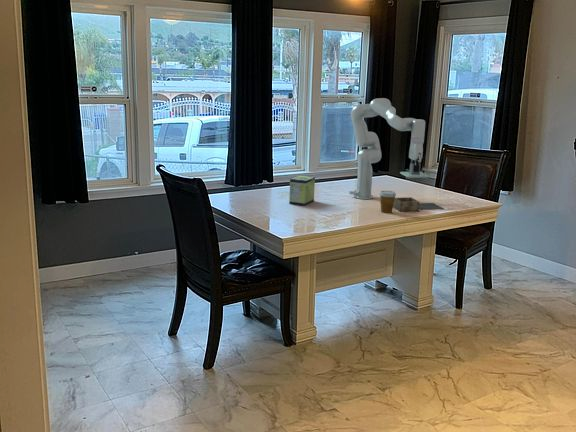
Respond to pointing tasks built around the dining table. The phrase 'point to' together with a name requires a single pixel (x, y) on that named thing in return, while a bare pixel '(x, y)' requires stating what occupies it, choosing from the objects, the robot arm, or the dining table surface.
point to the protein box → (302, 190)
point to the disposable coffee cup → (387, 201)
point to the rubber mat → (429, 206)
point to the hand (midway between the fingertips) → (414, 170)
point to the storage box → (406, 204)
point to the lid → (413, 174)
